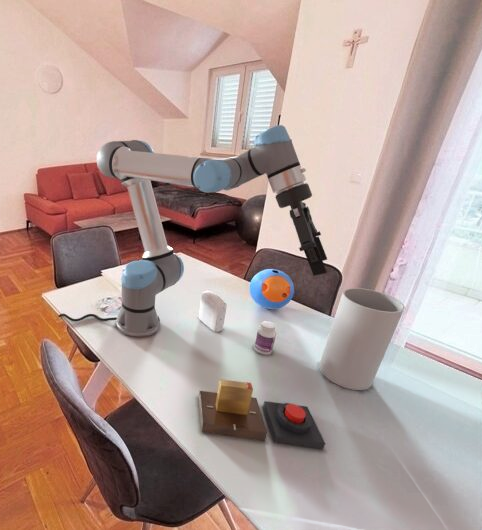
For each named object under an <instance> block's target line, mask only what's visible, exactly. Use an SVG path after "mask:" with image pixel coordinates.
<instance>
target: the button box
mask: <svg viewBox="0 0 482 530" xmlns="http://www.w3.org/2000/svg"><path fill="white" fill-rule="evenodd" d="M288 404H291V403H288V402H284V403H283V402H275V401H266V400H264V401H263V406H262V409H263V413H264V415H265V418H266V421H267V425H268V427H269V431H270V434H271V436H272V439H273V443H274V444H279V445H286V446H292V447H293V446H294V447H300V448H305V449H306V448H307V449H314V450H320V451H323V450H324V448H325V445H326V442H325V439H324V438H323V435H322V434H321V432H320V430H319V428H318V426H317V423H316V421H315V420H314V417H313V416H312V414H311V411H310V409H309V407H308V406H306V405H299V404H298V406H300V407H301V408H302V409H303V410H304V411H305V413H306V416H305V419H304V422H303V423H300V424H298V423H294V422H292V421H290V420H289V419H287V418H286V416H285V409H286V406H287V405H288Z"/></svg>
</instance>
